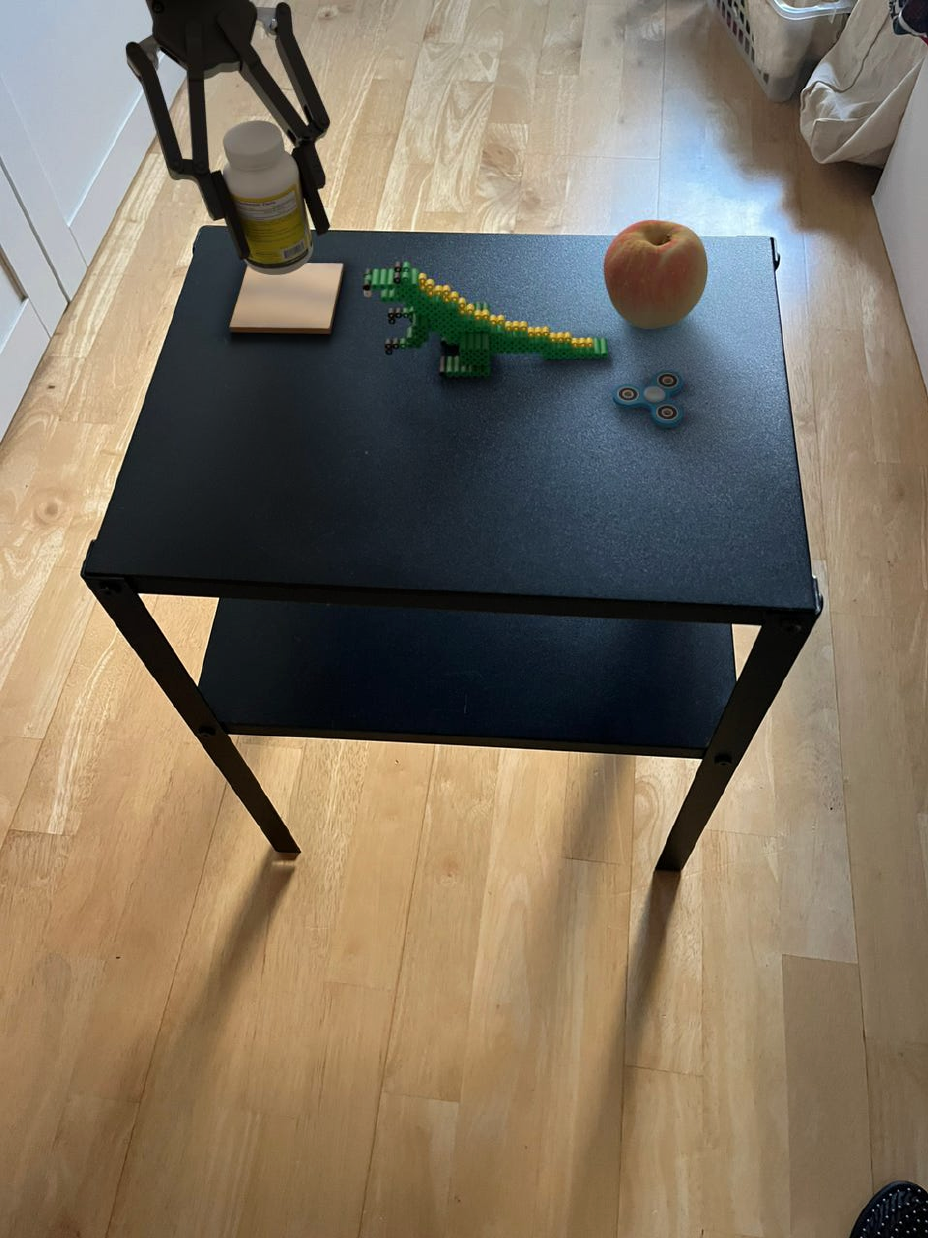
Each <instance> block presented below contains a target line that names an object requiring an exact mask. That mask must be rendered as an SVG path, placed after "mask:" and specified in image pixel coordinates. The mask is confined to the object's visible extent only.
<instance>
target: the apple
mask: <svg viewBox="0 0 928 1238" xmlns="http://www.w3.org/2000/svg"><path fill="white" fill-rule="evenodd" d="M604 255H605V256H604V260H603V279H604V285H605V287H606V291H607V294H608V298H609V300H610V302H611V305H612V306H613V308H614V310H615V311H616V313H617V314H618V315H619V316H620V317H621V318H622V319H623V320H624V321H625V322H627V323H629V324H630V325H632V326H633V327H636V328H639V329H644V330H656V329H657V330H658V329H662V328H666V327H669V326H673V325H675V324H677V323H678V322H680V321H682V320H684V319H685V318H686V317H688V315H689V314H690V313H691V312H693V310H694V309H695V308H696V306H697V305H698V303H699V302H700V300H701V298H702V296H703V295H704V292H705V288H706V286H707V280H708V273H709V266H708V258H707V252H706V249H705V245H704V243H703V242H702V239H701V238H700V237H699V236H698V234H697V233H696V232H695V231H694V230H693V229H691V228H690V227H688V226H687V225H684V224H681V223H677V222H674V221H670V220H669V221H668V220H660V219H644V220H641V221H637V222H635V223H632V224H630V225H628V226H627V227H626V228H624V229H623V230H622V231H620V232H619V233H618V234H617V235H616V236H615V237H614V238H613V240H612V241H611V242H610V244H609V246H608V247H607V250H606V252H605V254H604Z"/></svg>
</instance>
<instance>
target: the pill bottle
mask: <svg viewBox="0 0 928 1238" xmlns="http://www.w3.org/2000/svg"><path fill="white" fill-rule="evenodd" d="M281 130H282V129H281V128H280V126H279V127H278V125H276V124H274V123H272V122H271V121H267V120H261V119H258V120H257V119H256V120H255V119H253V120H247V121H243V122H240V123H237V124H235V125H234V126H233V127H231V128H229V130H227V131H226V132H225V134H224V136H223V138H222V145H223V150H224V155H225V157H226V160H227V161H226V162H225V164H224V166H223V168H222V175H223V178H224V181H225V183H226V186H227V189H228V191H229V194H230V197H231V199H232V202H233V205H234V207H235V210H236V213H237V216H238V218H239V221H240V224H241V226H242V229H243V232H244V234H245V237H246V240H247V242H248V245H249V248H250V251H251V252H250V255H249V258H247V259H244V260H243V261H244V262H245V264H246V265H247V266H249V267H250V268H251V269H253V270H255V271H257V272H259V273H263V274H267V275H283V274H287V273H290V272H293V271H295V270H297V269H299V268H300V267H302V266H303V265H304V264H305V263H308V262H309V260H310V259H311V257H312V255H313V252H314V241H313V237H312V231H311V227H310V221H309V216H308V211H307V205H306V202H305V199H304V195H303V190H302V185H301V180H300V174H299V170H298V166H297V163H296V161H295V160H294V158H293V157H292V156H291V153H289V152H288V151H286V150H285V149H286V148H285V142H284V137H283V133H282V131H281Z"/></svg>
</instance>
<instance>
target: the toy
mask: <svg viewBox="0 0 928 1238" xmlns="http://www.w3.org/2000/svg"><path fill="white" fill-rule="evenodd" d="M683 383H684V381H683V377H682V375H680V374H679V373H678V372H676V371H674V370H670V369H666V370H664V369H663V370H659V371H658V372H656V373H655V374H654V375H653V378H652V382H651V383H650V384H649V385H647V386H638V385H636V384H633V383H621V384H619V385H617V386H616V387H615V388H614V390H613V392H612V401H613V403H614V404H615V406H617V407H619V408H622V409H626V410H627V409H628V410H629V409H635V408H640V407H641V408H644V409H647V410H648V411H649V412H650V414H651V420H652V421H653V422H654V424H656V425H658V426H659V427H661V428H674V427H676V426H677V425H679V424H680V423H681V421H682V418H683V409H682V408H681V406H679V405H678V404H676V403H675V402H673V401H672V400H671V396H672V395H675V394H677V393H679V392H681V390H682V388H683Z"/></svg>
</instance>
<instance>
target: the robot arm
mask: <svg viewBox="0 0 928 1238" xmlns="http://www.w3.org/2000/svg"><path fill="white" fill-rule="evenodd" d="M144 1H145V4H146V6H147V9H148V11H149V14H150V17H151V22H152V25H151V34H150V35H148V36H147V37H146V38H144V39H142V40H141V41H139V42H136V41H131V40H130V41H128V42H127V43H126V45H125V59H126V63H127V66H128V68H129V69H130V71H132V73H133V75H134V76H135V77H136V79H137V81H138V82H139V83H140V85H141V87H142V90H143V93H144V97H145V100H146V103H147V106H148V111H149V113H150V116H151V118H152V119H151V120H152V123H153V126H154V129H155V133H156V136H157V140H158V143H159V146H160V149H161V153H162V155H163V159H164V162H165V166H166V170H167V172H168V175H169V178H170V179H172V180H173V181H181V180H188V181H192V182H194V183H195V184H196V185H197V188H198V190H199V193H200V195H201V198H202V200H203V201H202V202H203V204H204V207H205V208H206V211H207V214H208V217H210V219H211V220H212V221H213V222H217V221H220V220H223V219H224V222H225V225H226V227H227V230H228V233H229V235H230V238H231V240H232V243H233V246H234V249H235V251H236V254H237V258H238V259H239V261H240V262H241V261H245V260H244V259H247V258H249V255H250V252H251V251H250V248H249V245H248V242H247V240H246V237H245V234H244V232H243V229H242V226H241V224H240V221H239V218H238V216H237V213H236V210H235V207H234V205H233V202H232V199H231V197H230V194H229V191H228V189H227V186H226V183H225V181H224V178H223V172H222V170H221V169H218V170H214V171H211V169H210V157H209V156H210V155H209V140H208V139H209V138H208V124H207V123H208V122H207V107H206V105H207V104H206V92H205V80H209V79H213V78H214V77H216V76H217V75H218V74H220V73H229V74H230V73H233V72H238V74H239V75H240V77H241V78H242V79H243V80H244V82H246V83H248V85H249V86H250V87H251V89H252V90H253V91H254V93H255V94H256V96H257V97H258V99H260V101H261V103H262V104H263V105H264V107H265V108H266V110H267V111H268V112H269V114H270V115H271V117H272V118H273V119H274V120H275V122H276V124H277V126H279V128H280V130H282V132H283V133H284V134H285V136H286V137H287V139H288V140H289V142H290V143H291V144H292V145H293V148H292V150H291V153H290V155H291V156H292V157H293V158H294V160H295V161H296V163H297V166H298V170H299V174H300V180H301V185H302V190H303V195H304V201H305V205H306V209H307V210H308V211H307V212H308V213H309V216H310V219H311V221H312V224H313V228H314V230H315V233H316V236H317V237H320V236H323V235H326V234H327V232H329V230H330V228H331V224H330V220H329V218H328V215H327V213H326V210H325V207H324V204H323V201H322V198H321V195H320V193H319V191H320V190H322V189H324V188H325V186H326V181H327V177H326V173H325V171H324V167H323V165H322V162H321V159H320V157H319V156H320V155H319V154H318V153H319V152H317V151H318V150H317V148H316V143H317V142H318V141H320V140H321V139H323V138H325V136H326V135H327V132H328V131H329V127H330V125H331V119H330V116H329V114H328V112H327V109H326V107H325V105H324V102H323V99H322V98H321V96H320V93H319V91H318V88H317V86H316V84H315V81H314V78H313V77H312V74H311V72H310V69H309V67H308V65H307V62H306V60H305V58H304V55H303V53H302V50H301V48H300V46H299V44H298V41H297V39H296V36H295V34H294V29H293V28H294V27H293V17H292V8H291V6H290V5H289V4H288V3H287V2H286V1H285V2H284V1H280V2H278V3H277V4H276V5H275V6H276V7H270V6H269V7H265V6H256V4H255V2H253V0H144ZM257 26H260V27H261V28H262V29H263V30H264V34H265V35H266V38H268V39H269V40H272V41H274V43H275V48H276V52H277V53H278V56H279V60H280V61H281V64H282V66H283V68H284V71H285V73H286V75H287V77H288V80H289V82H290V84H291V87H292V89H293V92H294V94H295V96H296V100H297V102H298V104H299V105H300V108H301V110H302V113H303V115H304V118H305V120H306V122H307V124H306V122H305V121H304V120H303V118H302V116H301V115H300V114H299V113H298V111H297V110H296V108H295V107H294V106H293V104H292V103H291V101H290V100H289V98H288V97H287V95H286V94H285V93H284V91H283V90H282V89H281V87H280V86H279V85H278V83H277V82H276V80H275V79H274V78H273V76H272V75H271V73H270V72H269V71H268V69H267V68H266V66H265V65H264V63H263V61H262V59H261V57H260V55H259V52H257V51H256V49H255V48H254V46H253V45H252V42H253V39H254V34H255V30H256V27H257ZM159 52H162V53H163V54H164V55H165V56H166V57H168V58H169V59H170V60H172V61H173V62H174V63H175V64H177V65H178V66H179V67H181V68H182V69H183V70H185V71H186V73H185V74H186V87H187V88H186V89H187V99H188V101H187V102H188V113H189V114H188V115H189V129H190V130H189V131H190V147H191V158H183V155H182V151H181V148H180V145H179V141H178V138H177V135H176V131H175V128H174V125H173V122H172V118H171V115H170V114H171V113H170V112H169V108H168V105H167V101H166V97H165V95H164V91H163V89H162V85H161V81H160V77H159V75H158V73H157V71H158V70H159V68H160V61H159V57H158V54H159Z"/></svg>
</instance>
